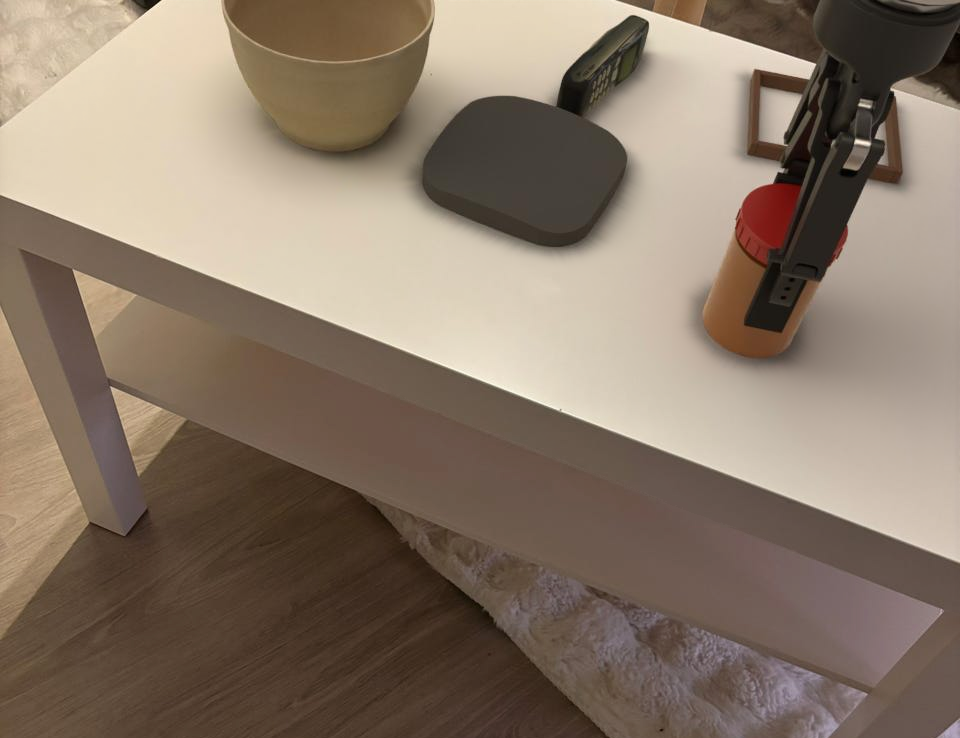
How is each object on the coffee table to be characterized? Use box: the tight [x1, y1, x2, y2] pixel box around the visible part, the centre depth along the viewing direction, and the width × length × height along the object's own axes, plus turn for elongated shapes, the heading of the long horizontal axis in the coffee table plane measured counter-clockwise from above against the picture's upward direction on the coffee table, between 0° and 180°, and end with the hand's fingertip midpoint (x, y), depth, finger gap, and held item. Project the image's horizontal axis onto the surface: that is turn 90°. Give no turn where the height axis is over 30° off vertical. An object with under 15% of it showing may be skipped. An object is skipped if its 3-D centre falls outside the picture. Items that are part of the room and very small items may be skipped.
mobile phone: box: [555, 14, 650, 119], centre depth 91 cm, size 5×3×15 cm
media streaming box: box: [421, 95, 628, 248], centre depth 84 cm, size 15×15×3 cm
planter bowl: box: [221, 0, 436, 153], centre depth 82 cm, size 16×16×11 cm
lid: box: [734, 183, 849, 267], centre depth 69 cm, size 7×7×2 cm
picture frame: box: [746, 68, 904, 185], centre depth 91 cm, size 13×11×2 cm
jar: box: [701, 228, 831, 359], centre depth 74 cm, size 7×7×10 cm
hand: (764, 286), depth 74 cm, fingers closed on lid, 7 cm apart
